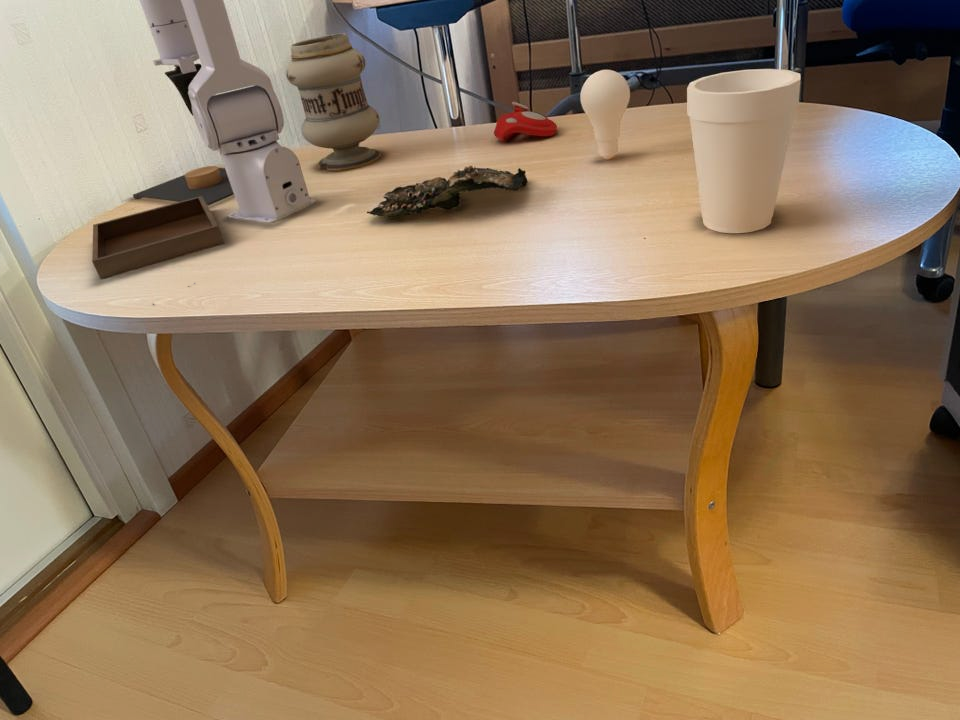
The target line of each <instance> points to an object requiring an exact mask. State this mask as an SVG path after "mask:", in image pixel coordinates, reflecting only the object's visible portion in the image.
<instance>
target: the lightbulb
mask: <svg viewBox="0 0 960 720" xmlns="http://www.w3.org/2000/svg"><path fill="white" fill-rule="evenodd" d="M579 96H580V97H579V100H580V104H581V108H582V110H583V112H584V113H585V115H586V117H587V118H588V119H589V121H590V124H591V126H592V129H593V133H594V139H595V141H596V146H597V154H598V156H599V157H601V158H603V159H604V160H611V159H613V157H615V156H617V154H618V152H619V138H620V133H621V132H620V131H621V123H622V120H623V117H624V114H625V112H626V110H627V107H628V106H629V103H630V99H631V90H630V86H629V83H628V81H627V79H626V78H625V77H624V76H623V75H622V74H621V73H620V72H617V71H615V70H612V69H601V70H598V71H596V72H594V73H592V74H591V75H590V76H589V77H588V78H586V80H585V81H584V83H583V85H582V87H581V90H580V95H579Z"/></svg>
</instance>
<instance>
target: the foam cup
mask: <svg viewBox="0 0 960 720" xmlns="http://www.w3.org/2000/svg"><path fill="white" fill-rule="evenodd" d="M801 80H802V79H801V73H799V72H796V71H793V70H789V69H778V68H757V69H755V68H754V69H741V70H733V71H725V72H720V73H715V74H711V75H707V76H702V77H700V78H697V79H695V80H693V81H691V82H689V84H688V86H687V88H686V116H688V117H689V123H690V124H689V125H690V131H691V139H692V147H693V155H694V163H695V170H696V171H695V172H696V179H697V187H698V196H699V203H700V212H701V218H702V224H703V225H704V226H705V227H706V228H707V229H708V230H711V231H714V232H717V233H724V234H725V233H726V234H744V233H752V232H757V231H759V230H763V229H765V228H766V227H768V226H770V225H771V224H772V218H773V217H774V212H775V207H776V203H777V198H778V194H779V188H780V184H781V178H782V174H783V170H784V166H785V160H786V156H787V152H788V151H787V150H788V147H789V142H790V138H791V132H792V127H793V124H794V118H795V113H796V110H797V109H799V105H800V104H799V103H800V91H801Z"/></svg>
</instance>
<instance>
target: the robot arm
mask: <svg viewBox="0 0 960 720" xmlns="http://www.w3.org/2000/svg"><path fill="white" fill-rule="evenodd" d="M139 2H140V5H141V8H142V11H143V14H144V16H145V19H146V21H147V25H148V27H149V30H150V33H151V36H152V39H153V41H154V44H155V48H156V50H157V53H158V55H159V58H157V59H153V60H152V62H153V66H156V67H157V66H173V67H174V69H173V70H169V71H165V72H164V75H165V76H166V77H167V78H168V79H169V80H170V81H171V82H172V84H173V85H174V87H175V88H176V90H177V91H178V93H179V95H180V96H181V98H182V100H183V102H184V104H185V107H186V108H187V109H188V111H189V114H191V116H192V117H193V119H194V122H195V124H196V128H197V131H198V133H199V135H200V137H201V139H202V141H203V143H204V145H205V146H206V147H207V148H208V149H211V150H212V151H213V152H216V151H217V152H218V153H219V155H220V158H221V160H222V161H221V162H222V163H223V168H225V170H226V173H227V176H228V179H229V181H230V184H231V187H232V190H233V193H234V195H233V196H234V198H235V202H236V206H237V208H238V209H237V210H235V211H232V212H230V213H228V214H227V215H226V216H227V219H235V220H241V221H242V220H243V221H251V222H257V223H259V222H260V223H263V224H264V223H265V224H274V223H276V222H278V221H280V220H282V219H284V218H286V217H288V216H290V215H292V214H295V213H297V212H299V211H301V210H303V209H305V208H307V207H309V206H311V205H313V204H315V203H317V202H316V199H313V198H310V195H309V192H308V188H307V183H306V181H305V177H304V173H303V171H302V167H301V163H300V160H299V158H298V156H297V155H296V153H295V152H294V151H293V150H291V149H290V148H289V147H286V146H282V145H281V144H280V143H279V142H278V141H279V140H280V136H279V134H281V133H282V131H283V128H284V125H285V120H284V114H283V109H282V107H281V103H280V101H279V98H278V96H277V94H276V92H275V90H274V87H273V84H272V81H271V78H270V77H269V76H268V74H267V73H266V72H265V70H263V69H262V68H260V67H258V66H256V65H254V64H252V63H250V62H248V61H245V60H243V59H242V58H241V57H240V52H239V49H238V46H237V43H236V39H235V36H234V32H233V29H232V25H231V21H230V17H229V15H228V11H227V8H226V5H225V1H224V0H139ZM197 60H199V61H200V63H195V62H196V61H197Z"/></svg>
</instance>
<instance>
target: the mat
mask: <svg viewBox="0 0 960 720" xmlns="http://www.w3.org/2000/svg"><path fill="white" fill-rule="evenodd" d="M218 168H219V171H220V174H221V177H222V181H221V182H220V183H218V184H216V185H213V186H210V187H206V188H201V189H190V188H189V187H188V184H187V181H186V179H185V176H184V175H185V174H183V175H180V176H178V177H176V178H173V179H170V180H168V181H165V182H162V183H159V184H157V185H154V186H152V187H149V188H146V189H144V190H142V191H139V192H137V193H133V194H132V197H133V199H137V200H141V199H144V198H145V199H152V200H159V201H160V200H161V201H169V202H176V203H177V202H180V201H184V200H188V199H192V198H195V197H199V196H202V197H203V198H204V200H205V202H206V204H207V206H210V205H214V203H218V202H220V201H222V200H225V199H226V198H229V197H231V196H234V193H233V190H232V187H231V184H230V181H229V179H228V176H227V173H226V170H225V167H218Z"/></svg>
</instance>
